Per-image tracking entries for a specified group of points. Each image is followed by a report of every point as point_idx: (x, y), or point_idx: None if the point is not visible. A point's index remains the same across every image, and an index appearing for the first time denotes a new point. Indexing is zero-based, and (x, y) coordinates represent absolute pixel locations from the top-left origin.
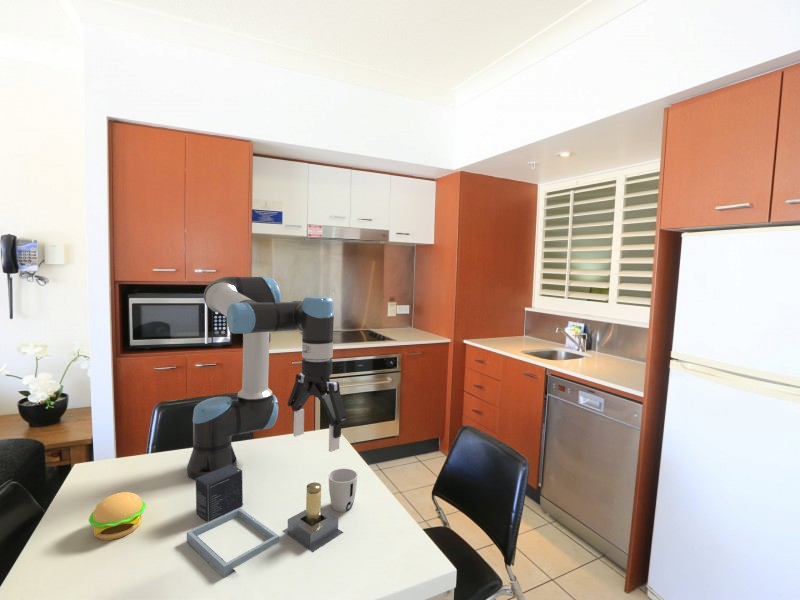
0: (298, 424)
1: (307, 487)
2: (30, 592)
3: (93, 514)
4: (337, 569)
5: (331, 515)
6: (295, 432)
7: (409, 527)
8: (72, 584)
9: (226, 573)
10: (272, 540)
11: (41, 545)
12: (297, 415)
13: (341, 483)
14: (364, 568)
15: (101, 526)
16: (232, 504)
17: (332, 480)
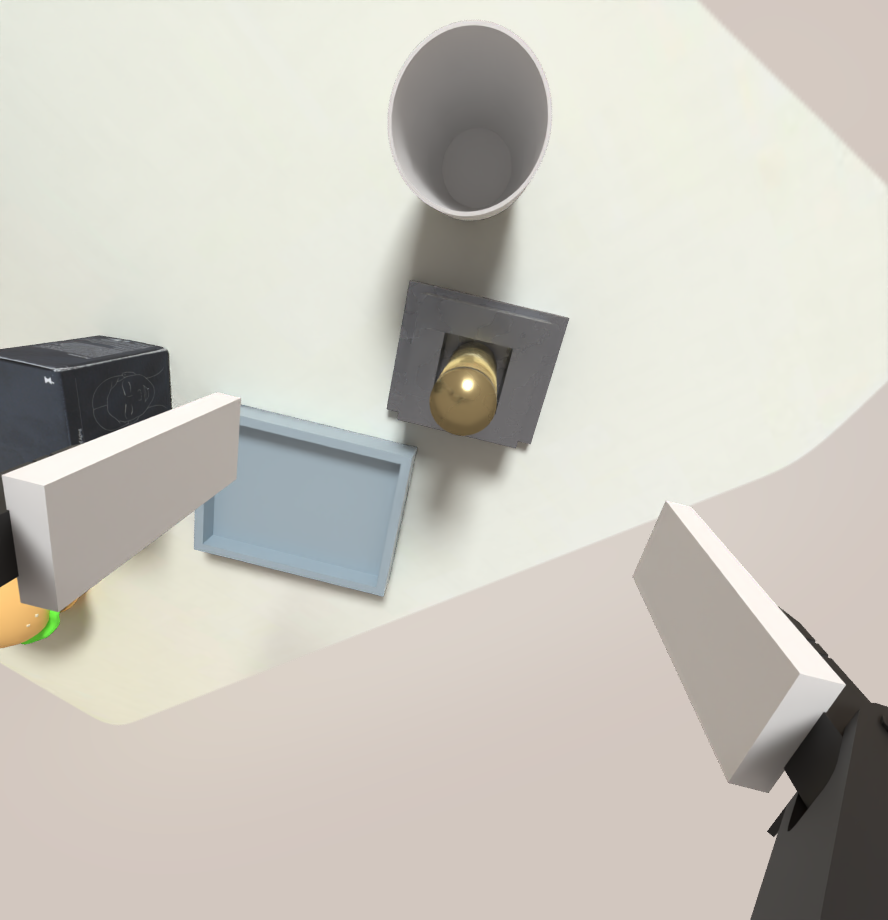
0: (176, 489)
1: (443, 426)
2: (142, 716)
3: None
4: (623, 451)
5: (520, 325)
6: (216, 491)
7: (796, 129)
8: (171, 687)
9: (388, 580)
10: (408, 478)
11: (4, 653)
12: (101, 557)
13: (503, 205)
14: (697, 414)
15: (42, 638)
16: (155, 390)
17: (450, 212)
